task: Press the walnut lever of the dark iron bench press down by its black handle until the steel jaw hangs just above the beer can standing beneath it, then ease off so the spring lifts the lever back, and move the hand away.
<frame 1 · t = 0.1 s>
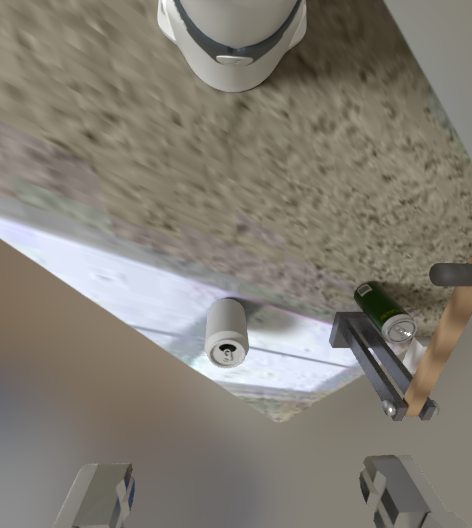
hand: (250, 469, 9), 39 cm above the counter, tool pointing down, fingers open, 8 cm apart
press frame: (355, 327, 57), on the counter
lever: (435, 344, 35), point 18 cm above the counter, hinge at 0.0°
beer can: (364, 291, 53), on the counter
can: (226, 310, 54), on the counter
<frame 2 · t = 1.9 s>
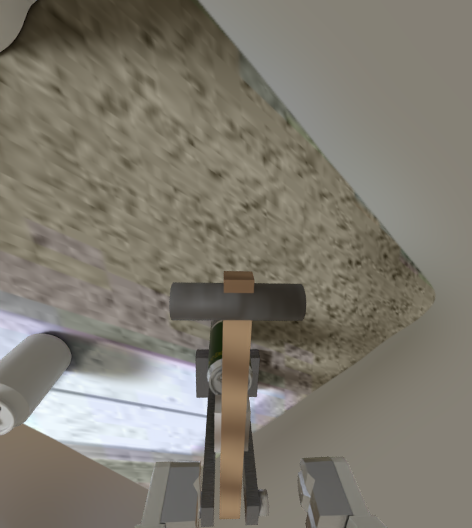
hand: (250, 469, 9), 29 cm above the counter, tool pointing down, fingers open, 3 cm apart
press frame: (227, 369, 44), on the counter
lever: (232, 408, 23), point 18 cm above the counter, hinge at 0.0°
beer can: (228, 322, 41), on the counter
can: (50, 349, 41), on the counter
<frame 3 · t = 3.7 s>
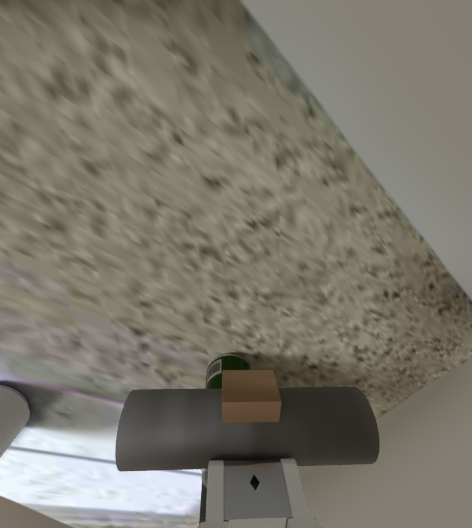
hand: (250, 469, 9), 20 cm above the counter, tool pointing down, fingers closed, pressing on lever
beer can: (228, 367, 33), on the counter
can: (4, 401, 33), on the counter
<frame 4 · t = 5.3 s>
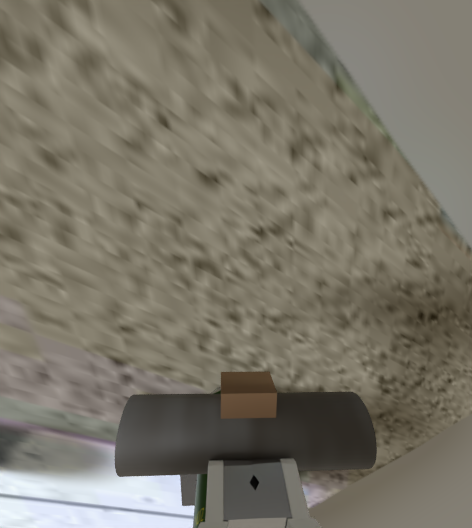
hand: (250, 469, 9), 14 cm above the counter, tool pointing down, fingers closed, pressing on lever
press frame: (227, 461, 30), on the counter
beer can: (229, 401, 27), on the counter
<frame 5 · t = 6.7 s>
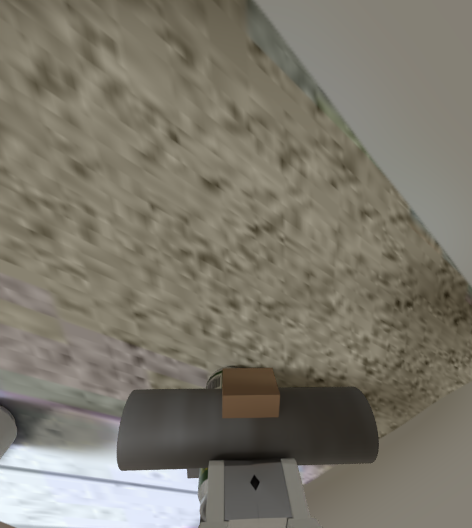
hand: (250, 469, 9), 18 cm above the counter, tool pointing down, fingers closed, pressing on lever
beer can: (229, 381, 30), on the counter
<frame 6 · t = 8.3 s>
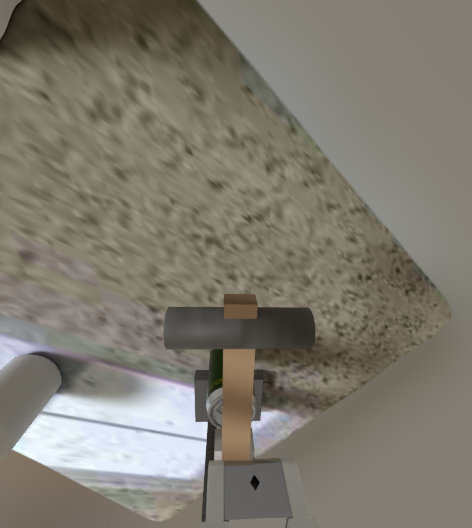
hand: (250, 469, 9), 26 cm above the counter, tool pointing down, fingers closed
press frame: (228, 390, 41), on the counter
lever: (234, 446, 21), point 18 cm above the counter, hinge at 2.4°
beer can: (229, 341, 38), on the counter
can: (39, 370, 39), on the counter
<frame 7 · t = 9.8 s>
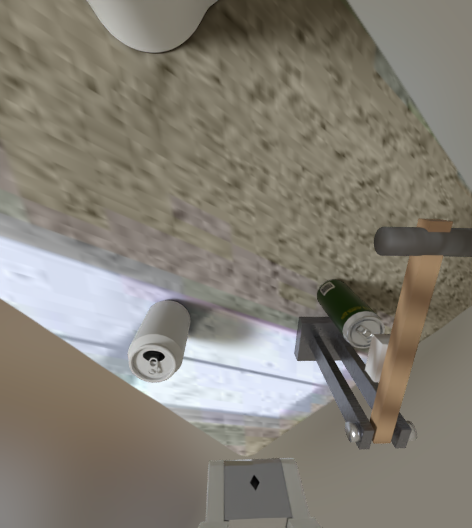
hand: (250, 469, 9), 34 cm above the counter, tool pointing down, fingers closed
press frame: (323, 335, 49), on the counter
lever: (398, 340, 28), point 18 cm above the counter, hinge at 2.4°
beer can: (330, 291, 46), on the counter
can: (169, 316, 46), on the counter
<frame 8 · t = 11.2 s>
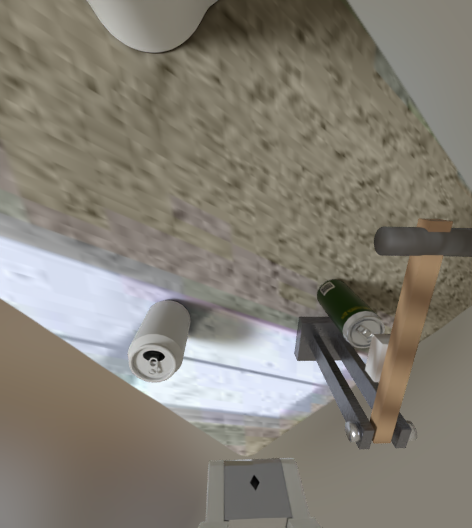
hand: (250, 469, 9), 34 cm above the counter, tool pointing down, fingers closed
press frame: (323, 335, 49), on the counter
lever: (398, 340, 28), point 18 cm above the counter, hinge at 2.4°
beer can: (330, 291, 46), on the counter
can: (169, 316, 46), on the counter
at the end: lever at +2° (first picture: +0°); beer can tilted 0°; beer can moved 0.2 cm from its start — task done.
